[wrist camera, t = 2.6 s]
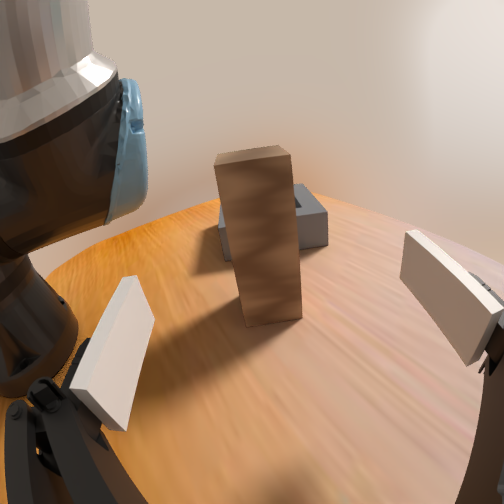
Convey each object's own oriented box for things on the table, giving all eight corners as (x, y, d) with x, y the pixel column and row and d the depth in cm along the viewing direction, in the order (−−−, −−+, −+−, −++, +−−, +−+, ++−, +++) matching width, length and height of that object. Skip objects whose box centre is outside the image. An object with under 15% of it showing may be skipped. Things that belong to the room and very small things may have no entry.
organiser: (225, 261, 35) (218, 228, 33) (226, 221, 46) (221, 195, 44) (328, 245, 35) (327, 211, 32) (304, 209, 46) (302, 183, 44)
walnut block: (246, 327, 24) (213, 165, 18) (243, 293, 29) (217, 154, 22) (302, 318, 24) (290, 154, 17) (292, 285, 29) (278, 145, 22)
